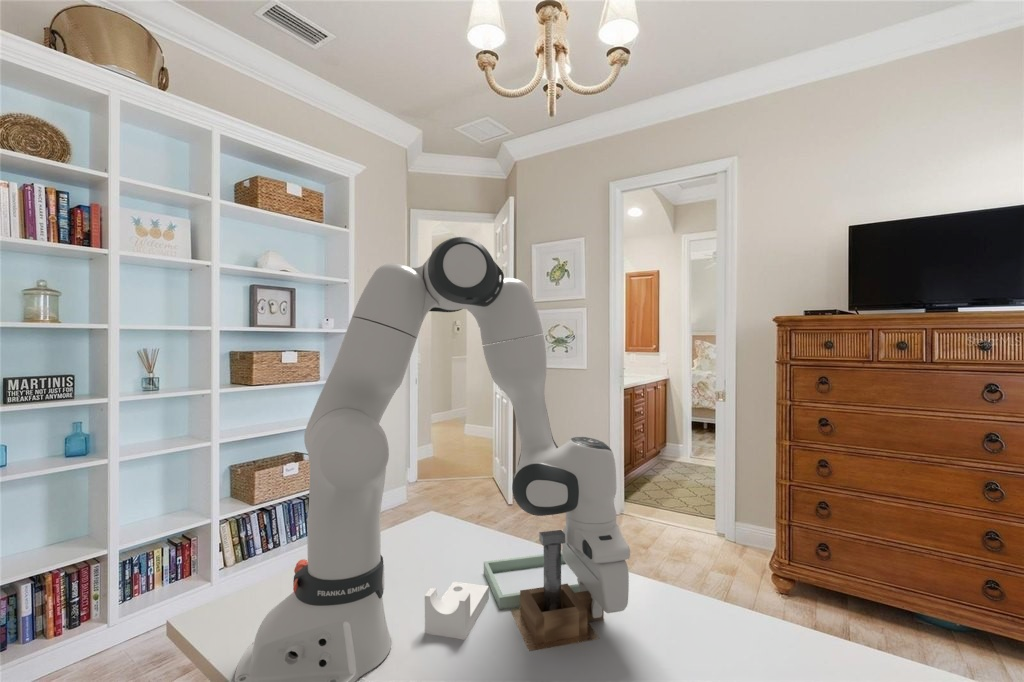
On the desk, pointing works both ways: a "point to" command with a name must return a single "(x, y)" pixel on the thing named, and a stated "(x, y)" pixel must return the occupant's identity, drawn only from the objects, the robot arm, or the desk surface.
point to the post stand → (551, 593)
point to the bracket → (454, 609)
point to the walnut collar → (556, 614)
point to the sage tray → (512, 565)
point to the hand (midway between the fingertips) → (591, 609)
